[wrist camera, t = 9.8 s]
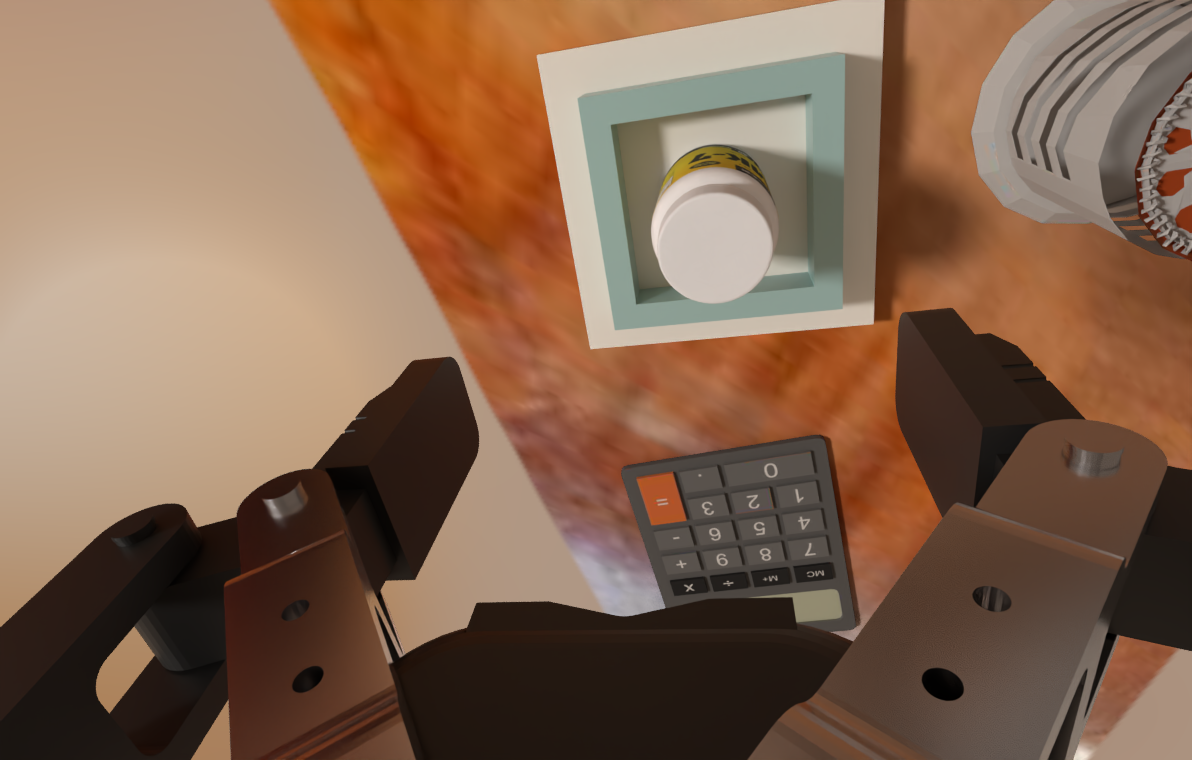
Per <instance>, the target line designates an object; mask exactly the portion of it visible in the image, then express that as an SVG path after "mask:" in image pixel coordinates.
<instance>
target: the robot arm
mask: <svg viewBox="0 0 1192 760" xmlns="http://www.w3.org/2000/svg"><path fill="white" fill-rule="evenodd" d="M895 397H896V411H897V417H898V421H899V425H900V428H901V431H902V433H903V435H904V437H905V439H906V441H907V444H908V446H909V448H910V450H911V452H912V454H913V456H914V458H915V460H916V463H917V465H918V467H919V469H920V471H921V473H922V475H923V477H924V480H925V482H926V484H927V486H928V488H929V490H930V492H931V494H932V496H933V499H934V501H935V503H936V505H937V507H938V509H939V511H940V513H941V515H942V520H941V521H940V523H939V524H938V525H937V527H936V528H935V529H934V531H933V532H932V534H931V535H930V536H929V538H928V539H927V540H926V542H925V543H924V545H923V546H922V547H921V549H920V550H919V552H918V553H917V554H916V556H915V557H914V558H913V560H912V561H911V563H910V564H909V565H908V567H907V568H906V570H905V571H904V572H903V574H902V575H901V576H900V578H899V579H898V581H897V582H896V583H895V585H894V586H893V588H892V589H891V590H890V592H889V593H888V594H887V596H886V597H885V599H884V600H883V601H882V603H881V604H880V606H879V607H878V608H877V610H876V611H875V612H874V614H873V615H872V617H871V618H870V619H869V621H868V622H867V624H866V625H865V626H864V628H863V629H862V630H861V632H860V633H859V635H858V636H857V637H856V639H855V640H854V642H853V641H851V640H848V639H846V638H843V637H841V636H839V635H836V634H834V633H831V632H827V631H824V630H821V629H818V628H814V627H811V626H806V625H802V624H797V623H796V616H795V610H794V603H793V597H772V598H716V599H705V600H701V601H696V602H692V603H687V604H683V605H678V606H674V607H669V608H665V609H660V610H656V611H651V612H647V613H643V614H638V615H634V616H615V615H610V614H606V613H601V612H596V611H591V610H587V609H582V608H577V607H572V606H568V605H562V604H558V603H553V602H549V601H548V602H496V603H494V602H493V603H476V606H475V608H474V611H473V614H472V616H471V619H470V622H469V625H468V627H467V628H465V629H461V630H457V631H454V632H451V633H448V634H445V635H442V636H440V637H438V638H435V639H433V640H431V641H429V642H427V643H424V644H422V645H421V646H419V647H417V648H415V649H413V650H411V651H410V652H408V653H406V654H405V652H404V650H403V646H402V644H401V641H400V638H399V636H398V633H397V630H396V627H395V624H394V622H393V619H392V616H391V614H390V611H389V608H388V605H387V603H386V601H385V598H384V596H383V594H382V592H381V588H382V586H383V585H384V583H385V581H387V580H415V579H416V577H417V575H418V573H419V571H420V569H421V567H422V565H423V563H424V561H425V559H426V557H427V555H428V553H429V551H430V549H431V547H432V545H433V543H434V541H435V539H436V537H437V535H438V533H439V531H440V529H441V527H442V525H443V523H444V521H445V519H446V517H447V515H448V513H449V511H450V509H451V506H452V504H453V503H454V501H455V499H456V497H457V495H458V492H459V491H460V488H461V487H462V485H463V483H464V481H465V479H466V477H467V475H468V473H469V471H470V469H471V467H472V465H473V463H474V461H475V459H476V456H477V453H478V447H479V432H478V427H477V423H476V420H475V416H474V413H473V410H472V407H471V404H470V400H469V397H468V394H467V390H466V387H465V384H464V381H463V377H462V374H461V371H460V368H459V365H458V364H457V362H456V360H455V359H454V358H452V357H442V358H432V359H422V360H414V361H412V362H411V363H410V364H409V365H408V366H407V368H406V369H405V370H404V371H403V373H402V374H401V375H400V377H398V379H397V380H396V381H395V383H394V384H393V385H392V386H391V387H389V388H388V389H386V390H385V391H383V392H382V393H381V394H379V395H378V396H376V397H375V398H373V399H372V400H370V401H369V402H368V403H367V404H366V405H365V407H364V408H363V409H362V410H361V411H360V413H359V414H358V415H357V416H356V420H354V421H352V422H351V423H350V425H349V426H348V427H347V428H346V429H345V433H344V434H341V435H340V436H339V438H338V439H337V440H336V441H335V442H334V444H333V445H332V446H331V447H330V448H329V450H328V451H327V452H326V453H325V454H324V455H323V457H322V458H321V459H320V460H319V461H318V463H317V464H316V465H315V466H314V467H313V468H312V469H302V470H297V471H293V472H289V473H286V474H283V475H281V476H278V477H276V478H274V479H272V480H270V481H268V482H266V483H264V484H263V485H261V486H260V487H258V488H257V489H255V490H254V491H253V492H251V494H249V496H247V497H246V498H245V499H244V500H243V502H242V503H241V505H240V506H239V508H238V511H237V517H235V518H231V519H228V520H224V521H220V522H216V523H213V524H209V525H205V526H201V527H196V525H195V523H194V522H193V520H192V518H191V517H190V515H189V513H188V512H187V510H186V508H185V507H183V506H182V505H179V504H162V505H157V506H153V507H150V508H147V509H144V510H141V511H139V512H136V513H134V514H132V515H130V516H128V517H126V518H124V519H122V520H120V521H118V522H117V523H115V524H114V525H112V526H111V527H109V528H108V529H107V530H105V531H104V532H102V533H101V534H100V535H99V536H98V537H97V538H95V539H94V540H93V541H92V542H91V543H90V544H89V545H88V546H87V547H86V548H85V549H84V550H83V551H82V552H80V553H79V554H78V555H77V556H76V557H75V558H74V559H73V560H72V561H71V562H70V563H69V564H68V565H67V566H66V567H64V568H63V569H62V570H61V571H60V572H59V573H58V574H57V575H56V576H55V577H54V578H53V579H52V580H51V581H49V582H48V583H47V584H46V585H45V586H44V587H43V588H42V589H41V590H40V591H39V592H38V593H37V594H36V595H35V596H34V597H33V598H31V599H30V600H29V601H28V602H27V603H26V604H25V605H24V606H23V607H22V608H21V609H20V610H18V611H17V613H15V614H14V615H13V616H12V617H11V618H10V619H9V620H8V621H7V622H6V623H5V624H3V626H2V627H0V760H191V758H192V757H193V755H194V753H195V752H196V750H197V749H198V747H199V745H200V744H201V742H202V741H203V739H204V737H205V735H206V734H207V732H208V731H209V729H210V728H211V726H212V724H213V723H214V721H215V720H216V718H217V717H218V715H219V713H220V712H221V710H222V709H223V707H224V705H225V704H226V702H227V701H229V724H230V749H231V760H1073V758H1074V755H1075V753H1076V750H1077V747H1078V744H1079V741H1080V739H1081V736H1082V733H1083V731H1084V728H1085V725H1086V723H1087V720H1088V718H1089V715H1090V712H1091V710H1092V707H1093V705H1094V702H1095V699H1096V697H1097V694H1098V691H1099V689H1100V686H1101V684H1102V681H1103V678H1104V676H1105V673H1106V671H1107V668H1108V665H1109V663H1110V660H1111V657H1112V655H1113V652H1114V650H1115V647H1116V644H1117V642H1118V639H1119V636H1125V637H1129V638H1134V639H1139V640H1143V641H1148V642H1152V643H1157V644H1161V645H1166V646H1171V647H1175V648H1180V649H1184V650H1189V651H1192V470H1188V469H1181V468H1176V467H1171V466H1167V465H1168V463H1167V458H1166V456H1165V454H1164V453H1163V451H1162V450H1161V449H1160V448H1159V447H1158V446H1157V445H1156V444H1154V443H1153V442H1152V441H1150V440H1149V439H1147V438H1146V437H1144V436H1142V435H1140V434H1138V433H1136V432H1134V431H1131V430H1129V429H1126V428H1123V427H1120V426H1117V425H1113V424H1109V423H1104V422H1099V421H1092V420H1086V419H1085V418H1084V417H1083V416H1082V415H1081V414H1080V413H1079V412H1078V411H1077V410H1076V408H1075V407H1074V406H1073V405H1072V404H1071V403H1070V402H1069V401H1068V400H1067V399H1066V398H1065V397H1064V396H1063V394H1062V393H1061V392H1060V391H1059V390H1058V389H1057V388H1056V387H1055V386H1054V385H1053V384H1052V383H1051V382H1050V381H1047V380H1046V376H1045V375H1044V374H1043V373H1042V372H1041V371H1040V370H1039V369H1038V368H1037V367H1036V366H1035V367H1034V366H1033V362H1032V361H1031V360H1030V359H1029V358H1028V357H1027V356H1026V355H1025V354H1024V353H1023V352H1022V351H1021V349H1020V348H1019V347H1018V346H1016V345H1014V344H1012V343H1010V342H1007V341H1005V340H1003V339H1001V338H999V337H997V336H995V335H993V334H991V333H987V334H976V335H975V334H974V333H973V332H972V330H971V329H970V328H969V327H968V326H967V324H966V323H965V322H964V321H963V320H962V318H961V317H960V316H959V315H958V314H957V312H956V311H955V310H954V309H953V308H945V309H934V310H924V311H914V312H904V313H902V315H901V317H900V320H899V327H898V348H897V371H896V396H895ZM133 627H135V628H136V629H137V631H138V632H139V634H140V635H141V636H142V638H143V639H144V640H145V642H146V643H147V645H148V646H149V647H150V649H151V650H152V652H153V653H154V654H155V656H154V657H153V659H152V660H151V661H150V662H149V664H148V665H147V666H146V667H145V669H144V670H143V671H142V673H141V674H140V675H139V676H138V678H137V679H136V680H135V682H134V683H133V684H132V686H131V687H130V688H129V689H128V691H127V692H126V693H125V694H124V696H123V697H122V698H121V700H120V701H119V702H118V703H117V705H116V706H115V707H114V709H113V710H112V711H111V712H110V714H109V713H108V712H107V710H106V709H105V708H104V707H103V705H102V704H101V703H100V701H99V700H98V697H97V694H96V679H97V676H98V673H99V670H100V668H101V666H102V664H103V663H104V661H105V660H106V659H107V657H108V656H109V655H110V654H111V653H112V652H113V650H114V649H115V648H116V647H117V645H118V644H119V643H120V642H121V641H122V640H123V639H124V637H125V636H126V635H127V634H128V633H129V632H130V630H131V629H132V628H133Z"/></svg>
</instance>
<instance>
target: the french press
mask: <svg viewBox="0 0 1192 760" xmlns="http://www.w3.org/2000/svg"><path fill="white" fill-rule="evenodd" d="M971 135H972V140H973V146H974V151H975V156H976V162H977V167H978V172H979V176H980V177H981V178H982V180H983V181H984V182H985V183H986V185H987V186H988V187H989V188H990V190H991V191H992V192H993V193H994V195H995V196H996V197H997V199H998V200H999V201H1000V202H1001V204H1002V205H1003V206H1004V207H1006V208H1008V209H1011V210H1013V211H1015V212H1017V213H1020V214H1022V215H1024V216H1027V217H1029V218H1031V219H1033V220H1036V221H1038V222H1040V223H1070V224H1089V223H1092V222H1093V223H1095V224H1097V225H1098V226H1100V227H1102V228H1104V229H1106V230H1108V231H1110V232H1112V233H1114V234H1116V235H1118V236H1120V237H1122V238H1124V239H1126V240H1128V241H1130V242H1132V243H1134V244H1136V245H1138V246H1140V247H1142V248H1144V249H1146V250H1148V251H1150V252H1151V253H1153V254H1156V255H1162V256H1168V257H1173V258H1179V259H1188V260H1190V261H1192V0H1054V1H1053V2H1051V3H1050V4H1049V5H1048V6H1047V7H1046V8H1044V9H1043V10H1042V11H1041V12H1040V13H1039V14H1037V15H1036V16H1035V17H1034V18H1033V19H1032V20H1030V21H1029V22H1028V23H1027V24H1026V25H1025V26H1023V27H1022V28H1021V29H1020V30H1019V31H1018V32H1016V33H1015V34H1014V35H1013V36H1012V38H1011V40H1010V41H1009V43H1008V44H1007V46H1006V47H1005V49H1004V51H1003V52H1002V54H1001V55H1000V57H999V59H998V60H997V62H996V63H995V65H994V66H993V68H992V70H991V71H990V73H989V74H988V76H987V78H986V79H985V81H984V82H983V84H982V88H981V92H980V97H979V101H978V105H977V110H976V114H975V118H974V123H973V127H972V131H971ZM1138 214H1139V217H1140V219H1138V220H1130V221H1112V220H1111V218H1110V217H1130V216H1134V215H1138ZM1144 225H1146V227H1147V228H1148V230H1129V231H1127V230H1125V229H1123V228H1121V227H1119V226H1144ZM1145 235H1153V236H1154V238H1155V239H1156V240H1157V241H1147V240H1145V239H1143V238H1141V237H1139V236H1145Z"/></svg>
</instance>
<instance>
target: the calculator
mask: <svg viewBox="0 0 1192 760" xmlns="http://www.w3.org/2000/svg"><path fill="white" fill-rule="evenodd" d="M621 475H622V479H623V482H624V485H625V488H626V491H627V494H628V497H629V500H630V503H631V506H632V509H633V511H634V514H635V517H636V520H637V523H638V526H639V529H640V532H641V535H642V538H643V541H644V544H645V547H646V550H647V553H648V556H649V559H650V562H651V565H652V568H653V571H654V574H655V577H656V580H657V583H658V586H659V589H660V592H661V595H662V598H663V601H664V604H665V607H666V608H669V607H674V606H678V605H683V604H687V603H692V602H696V601H701V600H705V599H716V598H772V597H793V603H794V610H795V616H796V623H797V624H802V625H806V626H811V627H814V628H818V629H821V630H824V631H827V632H833V631H845V630H852V629H854V628H855V627H856V623H855V617H854V611H853V605H852V599H851V593H850V587H849V581H848V575H847V569H846V563H845V557H844V551H843V545H842V539H841V533H840V527H839V521H838V515H837V509H836V503H835V497H834V491H833V485H832V479H831V473H830V467H829V461H828V455H827V449H826V443H825V440H824V438H823V436H821V435H811V436H805V437H799V438H793V439H787V440H780V441H774V442H768V443H762V444H756V445H750V446H744V447H737V448H731V449H725V450H719V451H713V452H707V453H700V454H694V455H688V456H682V457H676V458H670V459H663V460H657V461H651V462H645V463H639V464H633V465H627V466H624V467H623V468H622V471H621Z"/></svg>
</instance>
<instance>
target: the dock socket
mask: <svg viewBox="0 0 1192 760" xmlns="http://www.w3.org/2000/svg"><path fill="white" fill-rule="evenodd" d="M884 2H885V0H838V1H832V2H827V3H821V4H816V5H810V6H805V7H799V8H794V9H788V10H783V11H777V12H772V13H766V14H761V15H755V16H750V17H744V18H739V19H733V20H727V21H722V22H716V23H711V24H705V25H700V26H694V27H689V28H683V29H678V30H672V31H667V32H661V33H656V34H650V35H645V36H639V37H634V38H628V39H623V40H617V41H612V42H606V43H601V44H595V45H590V46H584V47H578V48H573V49H567V50H562V51H556V52H551V53H545V54H540V55H537V60H538V65H539V71H540V76H541V82H542V87H543V93H544V98H545V104H546V109H547V115H548V120H549V126H550V131H551V136H552V142H553V147H554V153H555V158H556V164H557V169H558V175H559V180H560V186H561V191H562V197H563V202H564V207H565V213H566V218H567V224H568V229H569V235H570V240H571V246H572V251H573V257H574V262H575V268H576V273H577V278H578V284H579V289H580V295H581V300H582V306H583V311H584V317H585V322H586V328H587V333H588V339H589V344H590V349H597V348H609V347H620V346H631V345H643V344H654V343H665V342H677V341H688V340H699V339H710V338H722V337H733V336H744V335H756V334H767V333H778V332H790V331H801V330H812V329H824V328H835V327H846V326H857V325H869V324H874V299H875V269H876V240H877V210H878V180H879V150H880V121H881V91H882V61H883V31H884ZM709 144H723V145H728V146H732V147H735V148H738V149H740V150H742V151H743V152H745V153H747V154H748V155H749V156H750V157H751V158H752V159H753V160H754V161H755V162H756V163H757V164H758V166H759V167H760V169H761V171H762V173H763V175H764V177H765V179H766V182H767V185H768V187H769V190H770V193H771V195H772V198H773V200H774V202H775V206H776V209H777V212H778V218H779V234H778V240H777V244H776V247H775V250H774V252H773V256H772V260H771V264H770V266H769V269H768V271H767V272H766V274H765V276H764V277H763V279H762V280H761V281H760V283H759V284H758V285H757V286H756V287H755V288H754V289H752V290H751V291H750V292H749V293H747V294H745V295H744V296H742V297H740V298H738V299H735V300H733V301H729V302H725V303H718V304H708V303H701V302H697V301H694V300H691V299H689V298H687V297H685V296H683V295H682V294H680V293H679V292H678V291H676V290H675V289H674V288H673V287H672V286H671V285H670V284H669V283H668V281H667V280H666V278H665V277H664V275H663V273H662V271H661V268H660V265H659V261H658V259H657V256H656V254H655V251H654V248H653V244H652V238H651V224H652V217H653V213H654V210H655V207H656V204H657V200H658V197H659V194H660V191H661V187H662V184H663V181H664V179H665V176H666V174H667V173H668V171H669V169H670V168H671V167H672V165H673V164H674V163H675V162H676V161H677V160H678V159H679V158H680V157H681V156H682V155H684V154H685V153H687V152H688V151H690V150H692V149H694V148H697V147H699V146H703V145H709Z"/></svg>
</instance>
